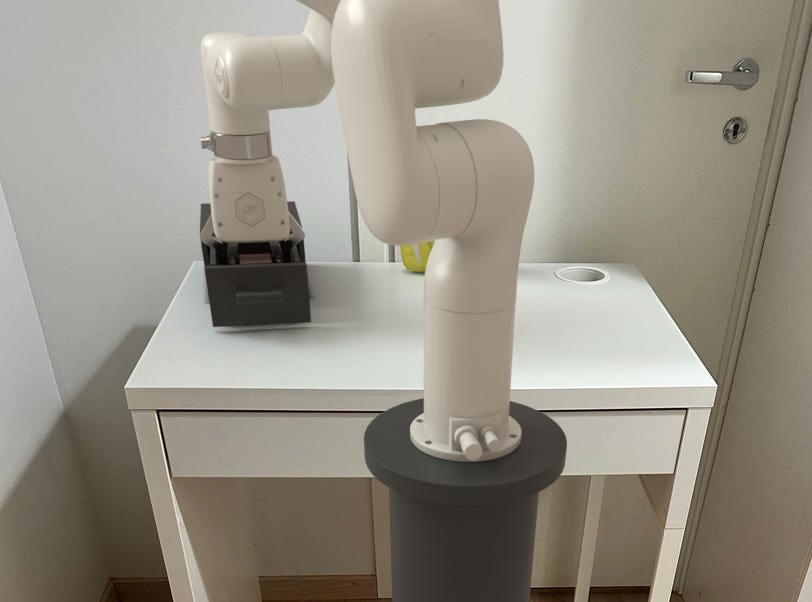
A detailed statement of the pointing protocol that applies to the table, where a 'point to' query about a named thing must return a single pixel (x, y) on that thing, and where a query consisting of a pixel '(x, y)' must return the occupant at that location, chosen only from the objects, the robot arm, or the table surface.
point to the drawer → (257, 289)
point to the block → (255, 259)
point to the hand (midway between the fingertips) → (258, 288)
